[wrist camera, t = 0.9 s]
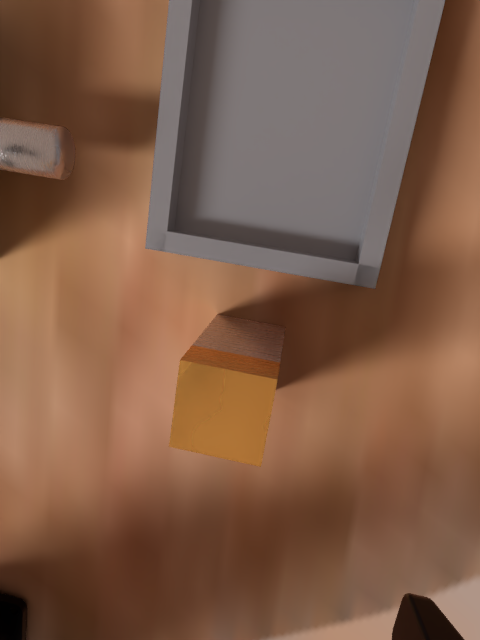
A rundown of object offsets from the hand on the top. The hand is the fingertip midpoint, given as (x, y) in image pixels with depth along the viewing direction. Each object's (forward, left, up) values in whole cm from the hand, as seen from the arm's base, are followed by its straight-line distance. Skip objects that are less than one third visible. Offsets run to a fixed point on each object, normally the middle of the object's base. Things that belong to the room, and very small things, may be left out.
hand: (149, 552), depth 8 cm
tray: (+9, 0, -12) cm, 15 cm away
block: (0, 0, -12) cm, 12 cm away
